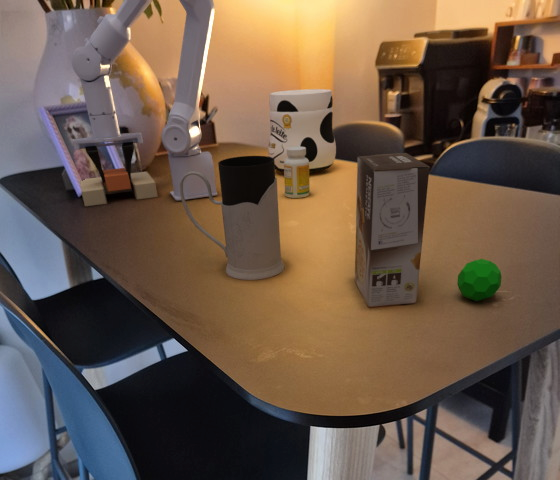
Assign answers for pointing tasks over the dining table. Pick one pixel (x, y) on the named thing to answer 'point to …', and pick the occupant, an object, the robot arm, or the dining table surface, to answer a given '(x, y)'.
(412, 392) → the dining table surface
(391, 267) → the coffee box
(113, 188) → the terracotta block
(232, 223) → the glass holder
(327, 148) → the milk container
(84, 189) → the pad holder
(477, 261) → the polyhedron
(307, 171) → the supplement bottle
